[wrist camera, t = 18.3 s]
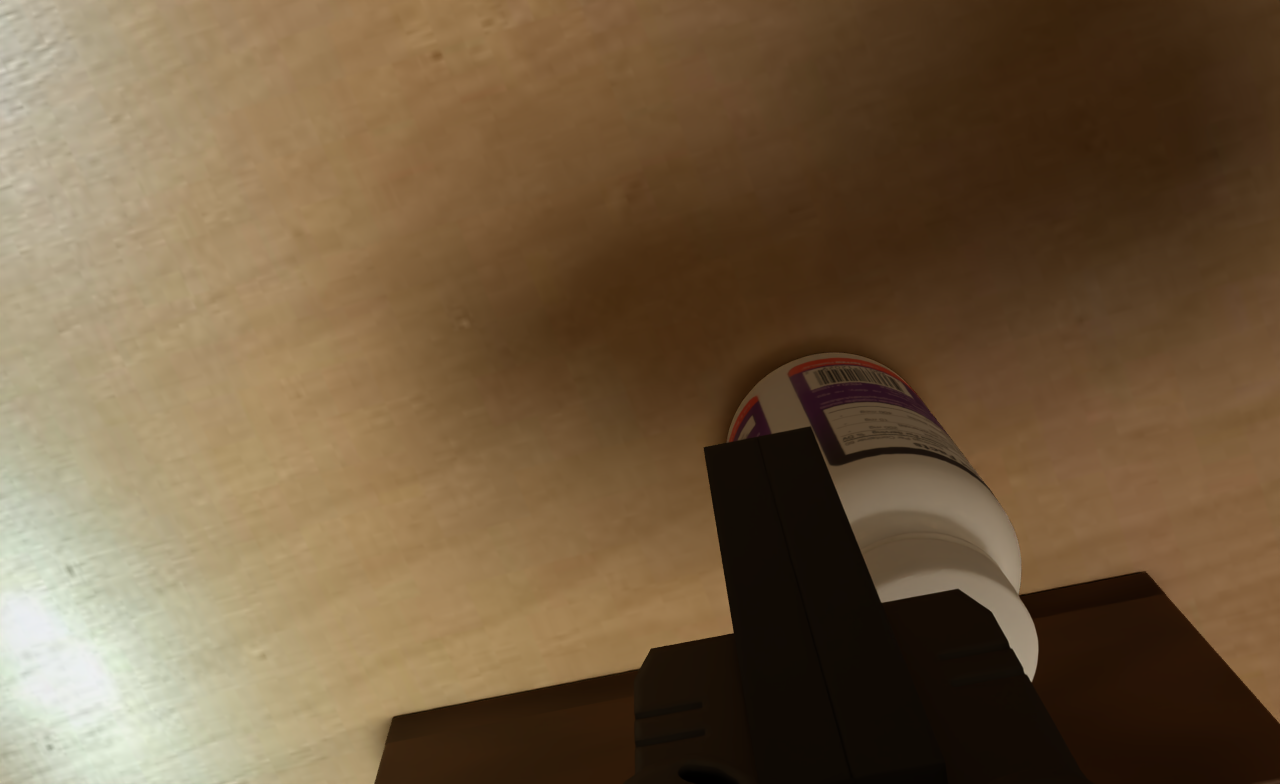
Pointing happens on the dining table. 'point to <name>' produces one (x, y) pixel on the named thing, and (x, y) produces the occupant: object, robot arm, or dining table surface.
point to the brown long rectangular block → (1064, 679)
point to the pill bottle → (899, 485)
